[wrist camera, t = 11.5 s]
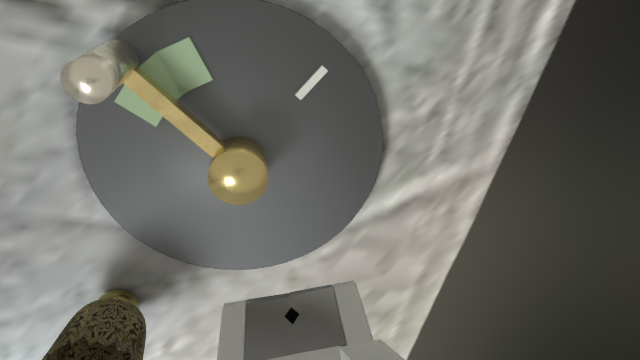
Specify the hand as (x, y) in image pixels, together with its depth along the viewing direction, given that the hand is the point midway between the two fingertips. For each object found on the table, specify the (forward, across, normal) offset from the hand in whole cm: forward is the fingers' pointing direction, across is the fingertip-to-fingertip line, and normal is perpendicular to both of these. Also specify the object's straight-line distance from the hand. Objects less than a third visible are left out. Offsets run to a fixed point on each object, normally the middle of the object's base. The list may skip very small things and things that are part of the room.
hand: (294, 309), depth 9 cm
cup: (+23, -18, -20) cm, 36 cm away
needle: (+22, -6, -3) cm, 23 cm away
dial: (+23, -4, -7) cm, 24 cm away
